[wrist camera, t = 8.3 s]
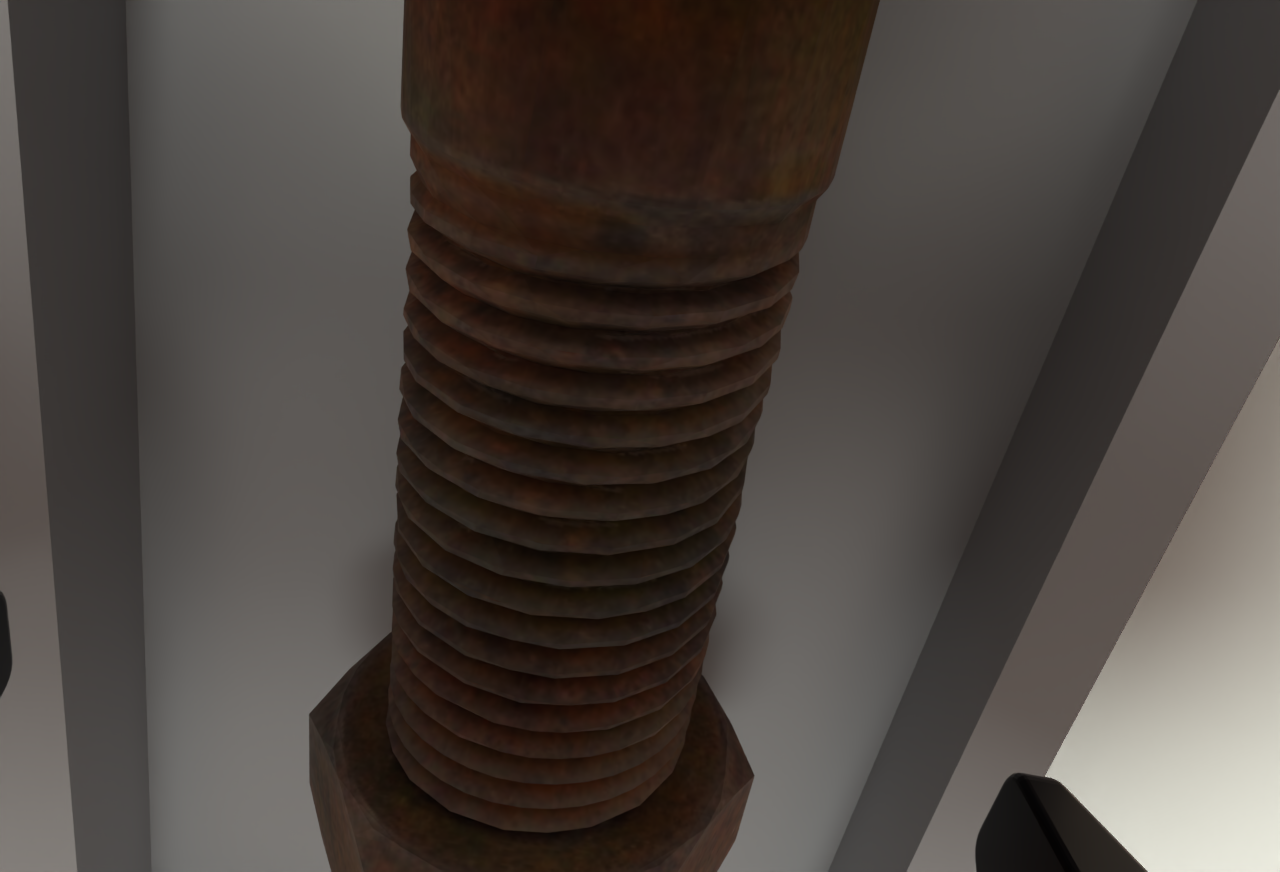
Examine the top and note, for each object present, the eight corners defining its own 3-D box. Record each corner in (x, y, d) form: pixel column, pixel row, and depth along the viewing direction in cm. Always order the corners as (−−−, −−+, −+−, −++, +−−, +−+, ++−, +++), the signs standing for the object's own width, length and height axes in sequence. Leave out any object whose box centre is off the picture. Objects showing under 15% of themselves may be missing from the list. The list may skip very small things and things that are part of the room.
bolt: (487, 781, 18) (613, -319, 10) (756, 956, 16) (1170, -250, 8) (186, 1070, 13) (-3, -526, 5) (508, 1369, 11) (914, -485, 3)
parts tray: (108, 952, 18) (28, 1102, 16) (-11, -966, 8) (-289, -1297, 5) (792, 1061, 19) (806, 1219, 17) (1532, -550, 8) (1832, -695, 6)
